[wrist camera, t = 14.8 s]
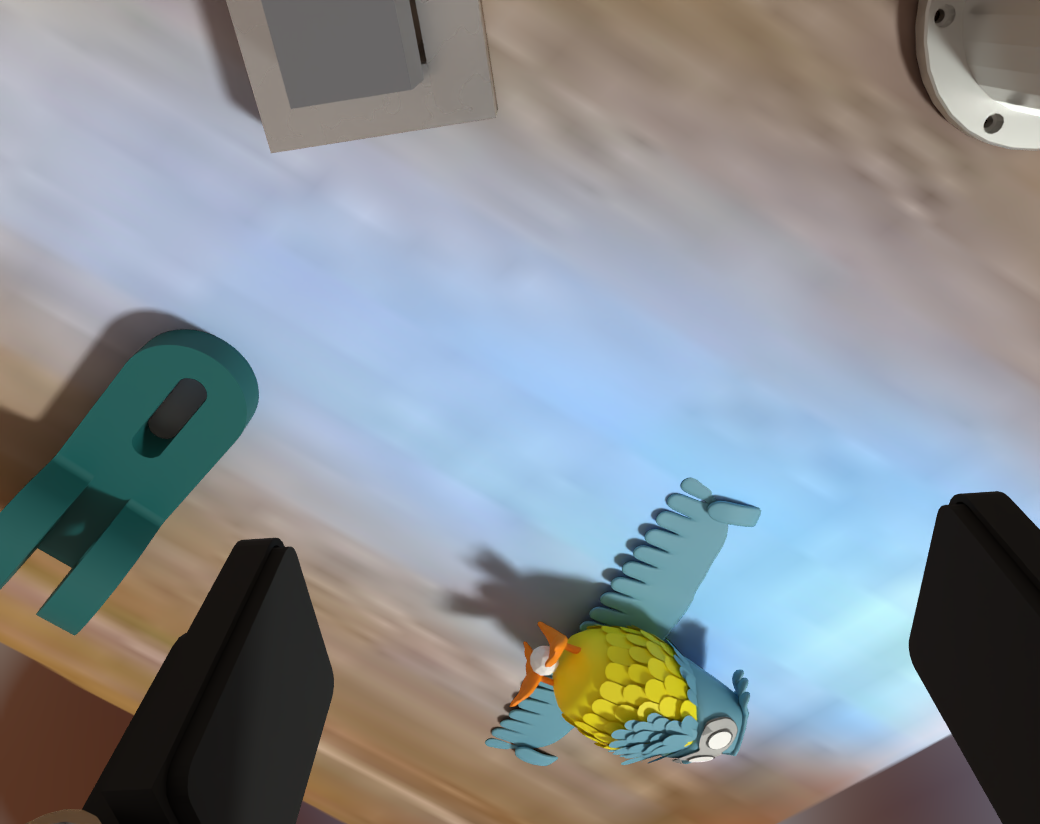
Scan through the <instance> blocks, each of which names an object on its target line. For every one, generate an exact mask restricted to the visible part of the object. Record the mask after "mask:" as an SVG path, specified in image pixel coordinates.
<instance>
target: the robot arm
mask: <svg viewBox="0 0 1040 824" xmlns="http://www.w3.org/2000/svg"><path fill="white" fill-rule="evenodd" d="M937 10H939V12H940V16H939V19H938V20H937V21H936V22H935V21H934V17H935V14H936V11H937ZM915 35H916V57H917V61H918V65H919V69H920V74H921V78H922V82H923V84H924V86H925V88H926V90H927V92H928V94H929V96H930V98H931V100H932V102H933V104H934V105H935V106H936V108H937V109H938V110H939V111H940V113H941V114H942V115H943V116H944V117H945V119H946V120H947V121H948V122H949V123H951V124H952V125H953V126H955V127H956V128H957V129H959V130H960V131H962V132H963V133H964V134H966V135H967V136H970V137H972V138H975V139H977V140H980V141H982V142H985V143H987V144H991V145H995V146H999V147H1003V148H1007V149H1014V150H1040V0H919V3H918V10H917V17H916V24H915ZM987 118H988V121H987V123H986V124H985V125H984V123H985V120H986V119H987ZM909 652H910V657H911V660H912V663H913V666H914V668H915V670H916V671H917V673H918V675H919V677H920V678H921V680H922V682H923V684H924V686H925V687H926V689H927V691H928V693H929V694H930V696H931V698H932V700H933V701H934V703H935V705H936V707H937V709H938V710H939V712H940V714H941V716H942V717H943V719H944V721H945V723H946V724H947V726H948V728H949V730H950V732H951V733H952V735H953V737H954V738H955V740H956V742H957V744H958V746H959V747H960V749H961V751H962V753H963V755H964V756H965V758H966V760H967V762H968V763H969V765H970V767H971V768H972V770H973V772H974V774H975V776H976V778H977V779H978V781H979V783H980V785H981V786H982V788H983V790H984V792H985V793H986V795H987V797H988V798H989V801H990V802H991V804H992V806H993V808H994V809H995V811H996V813H997V815H998V816H999V818H1000V820H1001V822H1002V823H1003V824H1040V529H1039V528H1038V527H1037V526H1036V525H1035V524H1034V523H1033V522H1032V521H1031V520H1030V519H1029V518H1028V517H1027V516H1026V515H1025V513H1024V512H1023V511H1022V510H1021V509H1020V508H1019V507H1018V506H1017V505H1016V504H1015V503H1014V502H1013V501H1012V500H1011V499H1010V498H1009V497H1008V496H1007V495H1006V494H1004V493H1002V492H998V491H995V492H980V493H964V494H957V495H954V496H953V497H952V499H951V500H950V503H949V505H944V506H941V507H940V509H939V511H938V513H937V517H936V522H935V526H934V531H933V535H932V540H931V544H930V549H929V553H928V558H927V562H926V566H925V571H924V575H923V580H922V584H921V589H920V593H919V598H918V602H917V607H916V611H915V616H914V620H913V625H912V629H911V634H910V638H909ZM333 688H334V677H333V671H332V667H331V664H330V661H329V657H328V654H327V651H326V648H325V644H324V641H323V638H322V635H321V631H320V628H319V625H318V622H317V619H316V615H315V612H314V609H313V606H312V602H311V599H310V596H309V593H308V589H307V586H306V583H305V580H304V576H303V573H302V570H301V567H300V563H299V560H298V557H297V554H296V551H295V550H294V548H293V547H284V544H283V542H282V541H281V540H280V539H279V538H265V539H249V540H240V541H238V542H237V543H236V545H235V546H234V547H233V549H232V551H231V553H230V555H229V557H228V558H227V560H226V562H225V564H224V566H223V568H222V569H221V571H220V573H219V575H218V577H217V579H216V580H215V582H214V584H213V586H212V588H211V590H210V591H209V593H208V595H207V597H206V599H205V601H204V602H203V604H202V606H201V608H200V610H199V612H198V613H197V615H196V617H195V619H194V621H193V623H192V624H191V626H190V628H189V630H188V632H187V633H185V634H184V635H182V636H181V637H179V638H178V640H177V641H176V642H175V644H174V645H173V647H172V648H171V650H170V652H169V654H168V655H167V657H166V659H165V661H164V663H163V664H162V666H161V668H160V670H159V672H158V673H157V675H156V677H155V679H154V681H153V682H152V684H151V686H150V688H149V690H148V691H147V693H146V695H145V697H144V699H143V700H142V702H141V704H140V706H139V708H138V709H137V711H136V713H135V715H134V717H133V718H132V720H131V722H130V724H129V726H128V727H127V729H126V731H125V733H124V735H123V736H122V738H121V740H120V742H119V744H118V745H117V747H116V749H115V751H114V753H113V755H112V756H111V758H110V760H109V762H108V764H107V765H106V767H105V769H104V771H103V772H102V774H101V776H100V778H99V780H98V781H97V783H96V785H95V787H94V789H93V790H92V792H91V794H90V796H89V798H88V800H87V801H86V803H85V805H84V807H83V809H82V810H70V809H66V810H61V811H57V812H53V813H49V814H46V815H43V816H41V817H39V818H37V819H35V820H32V821H30V822H28V823H26V824H296V820H297V817H298V814H299V810H300V807H301V803H302V800H303V796H304V793H305V789H306V786H307V782H308V779H309V775H310V772H311V769H312V765H313V762H314V758H315V755H316V751H317V748H318V744H319V741H320V737H321V734H322V730H323V727H324V723H325V720H326V717H327V713H328V710H329V706H330V703H331V699H332V695H333Z"/></svg>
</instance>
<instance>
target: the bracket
mask: <svg viewBox="0 0 1040 824" xmlns="http://www.w3.org/2000/svg"><path fill="white" fill-rule="evenodd" d="M184 378H191V379H195V380H197V381H199V382H200V383H201V384H202V385H203V386H204V387H205V389H206V391H207V399H206V400H205V401H204V403H203V404H202V405H201V406H200V407H199V408H198V410H197V411H196V412H195V413H194V414H193V416H192V417H191V418H190V419H189V420H188V422H187V423H186V424H185V425H184V426H183V428H182V429H181V430H180V431H179V432H178V434H177V435H176V436H175V437H173V438H171V439H162V438H159V437H157V436H156V435H154V434H153V433H152V432H151V431H150V429H149V426H148V421H149V419H150V417H151V416H152V415H153V414H154V412H155V411H156V410H157V409H158V407H159V406H160V405H161V404H162V402H163V401H164V400H165V399H166V398H167V396H168V395H169V394H170V393H171V391H172V390H173V389H174V388H175V386H176V385H177V384H178V383H179V381H180V380H181V379H184ZM258 399H259V390H258V384H257V380H256V377H255V374H254V372H253V370H252V368H251V367H250V365H249V363H248V362H247V361H246V359H245V358H244V357H243V356H242V355H241V354H240V353H239V352H238V351H237V350H236V349H235V348H234V347H233V346H231V345H230V344H228V343H227V342H225V341H224V340H222V339H220V338H218V337H216V336H214V335H211V334H209V333H205V332H202V331H197V330H188V329H180V330H173V331H168V332H165V333H162V334H160V335H158V336H156V337H155V338H153V339H151V340H150V341H149V342H148V343H147V344H146V345H145V346H144V347H142V348H141V349H140V350H139V351H138V352H137V353H136V354H135V355H134V356H133V357H132V358H130V359H129V361H128V362H127V363H126V364H125V365H124V367H123V368H122V369H121V371H120V372H119V373H118V375H117V376H116V377H115V378H114V380H113V381H112V382H111V384H110V385H109V386H108V388H107V389H106V390H105V392H104V393H103V394H102V396H101V397H100V398H99V400H98V401H97V402H96V403H95V405H94V406H93V407H92V409H91V410H90V411H89V413H88V414H87V415H86V417H85V418H84V419H83V421H82V422H81V423H80V425H79V426H78V427H77V428H76V430H75V431H74V432H73V434H72V435H71V436H70V438H69V439H68V440H67V442H66V443H65V444H64V446H63V447H62V448H61V450H60V451H59V452H58V453H57V455H56V456H55V457H54V458H53V459H52V460H51V461H50V462H49V463H48V464H47V465H46V466H45V467H44V468H43V469H42V470H41V471H40V472H39V473H38V474H37V475H36V476H35V477H34V478H33V479H32V480H31V481H30V482H29V483H28V484H27V485H26V486H25V487H24V488H23V489H22V490H21V491H20V492H19V493H18V494H17V495H16V496H15V497H14V498H13V499H12V500H11V501H10V503H9V504H8V505H7V506H6V507H5V508H4V509H3V510H2V511H1V512H0V589H1V588H2V587H3V586H4V585H5V584H6V583H7V582H8V581H9V579H10V578H11V577H12V576H13V575H14V574H15V573H16V572H17V570H18V569H19V568H20V567H21V566H22V565H23V564H24V563H25V561H26V560H27V559H28V558H29V557H30V556H31V555H32V554H33V552H34V551H35V550H36V549H37V548H38V549H40V550H42V551H43V552H45V553H47V554H49V555H50V556H52V557H54V558H56V559H57V560H59V561H61V562H63V563H64V564H66V565H68V566H70V567H71V568H72V569H71V570H70V571H69V573H68V574H67V575H66V576H65V578H64V579H63V580H62V582H61V583H60V584H59V585H58V587H57V588H56V589H55V590H54V592H53V593H52V594H51V595H50V597H49V598H48V599H47V601H46V602H45V603H44V604H43V606H42V607H41V608H40V610H39V611H38V612H37V614H36V615H38V616H39V617H41V618H43V619H45V620H47V621H49V622H50V623H52V624H54V625H56V626H58V627H60V628H62V629H63V630H65V631H67V632H69V633H71V634H73V635H76V634H77V633H78V632H79V631H80V630H81V629H82V628H83V627H84V626H85V625H86V624H87V623H88V622H89V620H90V619H91V618H92V617H93V616H94V615H95V613H96V612H97V611H98V610H99V609H100V607H101V606H102V605H103V604H104V603H105V601H106V600H107V599H108V598H109V596H110V595H111V594H112V593H113V591H114V590H115V589H116V587H117V586H118V585H119V584H120V582H121V581H122V580H123V578H124V577H125V576H126V575H127V573H128V572H129V571H130V569H131V568H132V567H133V565H134V564H135V562H136V561H137V560H138V558H139V557H140V556H141V554H142V553H143V551H144V550H145V548H146V547H147V545H148V544H149V543H150V541H151V540H152V538H153V537H154V535H155V534H156V532H157V531H158V529H159V528H160V527H161V525H162V524H163V523H164V522H165V520H166V519H167V518H168V517H169V516H170V515H171V514H172V512H173V511H174V510H175V509H176V508H177V507H178V506H179V505H180V503H181V502H182V501H183V500H184V499H185V498H186V497H187V496H188V494H189V493H190V492H191V491H192V490H193V489H194V488H195V486H196V485H197V484H198V483H199V482H200V481H201V480H202V479H203V477H204V476H205V475H206V474H207V473H208V472H209V471H210V470H211V468H212V467H213V466H214V465H215V464H216V463H217V462H218V461H219V459H220V458H221V457H222V456H223V455H224V454H225V453H226V452H227V450H228V449H229V448H230V447H231V446H232V445H233V444H234V443H235V441H236V440H237V439H238V438H239V436H240V435H241V434H242V432H243V430H244V429H245V427H246V426H247V424H248V423H249V421H250V420H251V418H252V416H253V415H254V413H255V411H256V408H257V405H258Z"/></svg>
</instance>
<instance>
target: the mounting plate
mask: <svg viewBox="0 0 1040 824" xmlns="http://www.w3.org/2000/svg"><path fill="white" fill-rule="evenodd" d="M226 3H227V6H228V9H229V13H230V16H231V19H232V23H233V26H234V30H235V33H236V36H237V40H238V43H239V46H240V50H241V53H242V57H243V60H244V63H245V67H246V70H247V73H248V77H249V80H250V84H251V87H252V90H253V94H254V97H255V100H256V104H257V107H258V111H259V114H260V117H261V121H262V124H263V128H264V131H265V134H266V138H267V141H268V144H269V148H270V151H271V153H276V152H282V151H288V150H295V149H301V148H307V147H314V146H320V145H327V144H333V143H339V142H346V141H352V140H358V139H365V138H371V137H377V136H384V135H390V134H396V133H403V132H409V131H416V130H422V129H428V128H435V127H441V126H447V125H454V124H460V123H466V122H473V121H479V120H485V119H492V118H496V115H497V110H498V107H497V101H496V94H495V87H494V81H493V74H492V67H491V61H490V54H489V48H488V41H487V34H486V28H485V21H484V14H483V8H482V1H481V0H409V3H410V8H411V13H412V18H413V24H414V29H415V34H416V39H417V45H418V50H419V55H420V60H421V66H422V71H423V76H424V80H423V81H422V82H421V83H419V84H418V85H417V86H416V87H415V88H413V89H412V90H408V91H401V92H395V93H389V94H382V95H376V96H370V97H364V98H357V99H351V100H345V101H338V102H332V103H326V104H320V105H313V106H307V107H301V108H294V109H291V108H290V104H289V101H288V97H287V93H286V90H285V86H284V82H283V79H282V75H281V71H280V68H279V64H278V61H277V57H276V53H275V50H274V46H273V42H272V39H271V35H270V31H269V28H268V24H267V20H266V17H265V13H264V10H263V6H262V2H261V0H226Z"/></svg>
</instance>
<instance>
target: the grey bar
mask: <svg viewBox="0 0 1040 824" xmlns="http://www.w3.org/2000/svg"><path fill="white" fill-rule="evenodd" d="M261 2H262V6H263V10H264V13H265V17H266V20H267V24H268V28H269V31H270V35H271V39H272V42H273V46H274V50H275V53H276V57H277V61H278V64H279V68H280V71H281V75H282V79H283V82H284V86H285V90H286V93H287V97H288V101H289V104H290V108H291V109H294V108H301V107H307V106H313V105H320V104H326V103H332V102H338V101H345V100H351V99H357V98H364V97H370V96H376V95H382V94H389V93H395V92H401V91H408V90H412V89H413V88H415V87H416V86H417V85H418V84H419V83H421V82H422V81H423V80H424V76H423V71H422V66H421V60H420V55H419V50H418V45H417V39H416V34H415V29H414V24H413V18H412V13H411V8H410V3H409V0H261Z"/></svg>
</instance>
